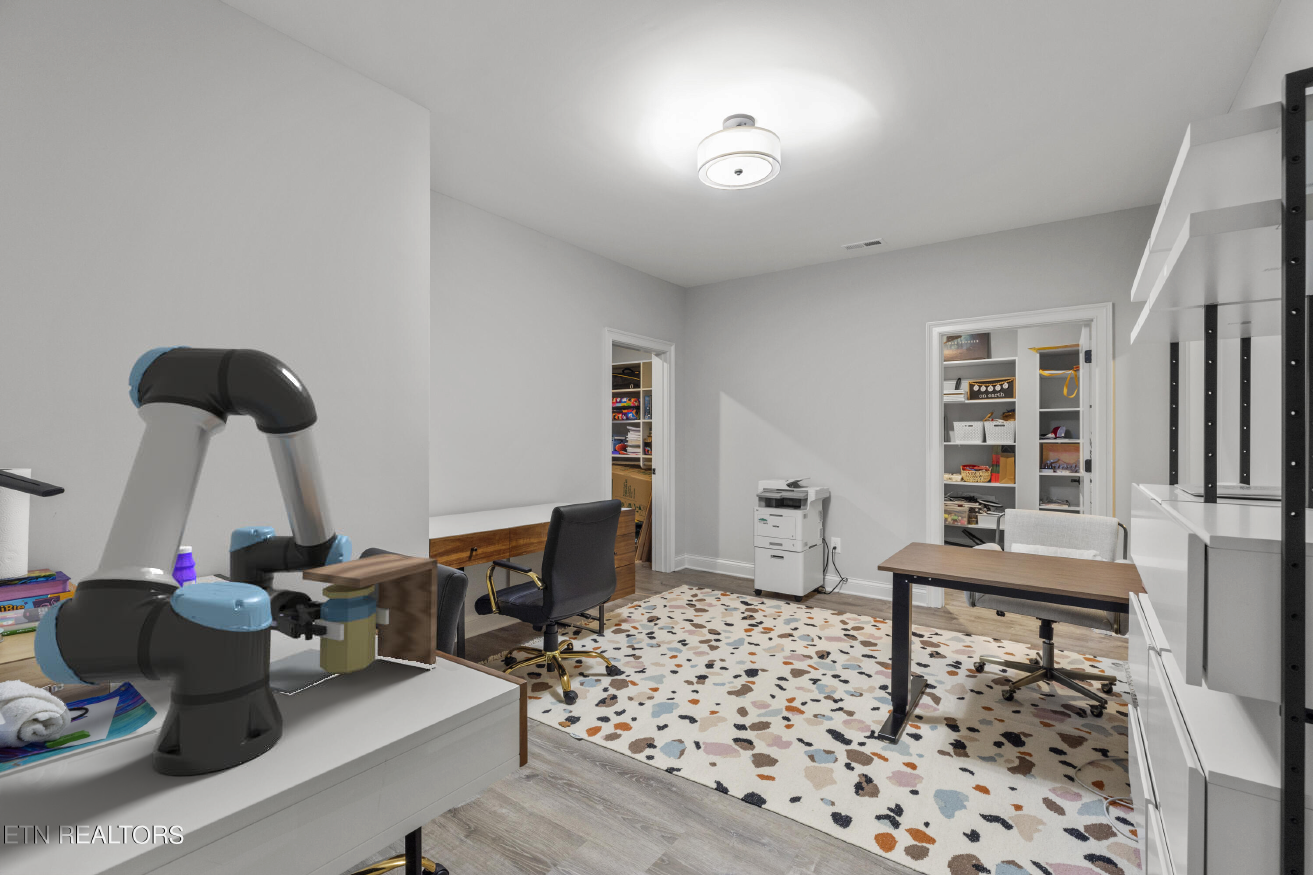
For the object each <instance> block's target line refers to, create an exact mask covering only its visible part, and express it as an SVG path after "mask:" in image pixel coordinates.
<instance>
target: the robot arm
mask: <svg viewBox="0 0 1313 875" xmlns="http://www.w3.org/2000/svg"><path fill="white" fill-rule="evenodd" d="M128 386H129V387H130V390H129V391H128V393H129V398H130V400H131V402H132V404H133V406H134V407H135V408H136V409H137V410H138V411H137V414H138V416H139V418H140V419H141V420H142V421H143V422H144V423H145V427H144V431H143V432H142V433H143V434H142V436H141V440H140V442H139V444H138V445H139V446H138V449H137V452H136V454H135V458H134V460H133V464H132V466H131V469H130V471H129V475H128V478H127V480H126V484H125V487H124V489H123V493H122V496H121V498H120V501H119V504H118V507H117V511H116V513H115V516H114V519H113V522H112V525H111V528H110V532H109V535H108V536H107V540H106V543H105V547H104V549H103V551H102V555H101V557H100V560H99V563H98V566H97V570H95V571H94V572H93V573H90V574H89V575H87V576H85V577H83V578H82V579H80V580H79V581H78V582H77V585H76V588H75V590H74V592H73V597H67V598H65V599H63V600H62V599H61V600H59V601H57V602H55V603H54V604H52V605H51V606H50V609H48V610H46V611H45V612H44V613H43V615H42V616H41V618H40V619H39V621H38V624H37V626H36V629H35V633H34V634H35V635H34V640H33V652H34V658H35V661H36V664H37V665H39V667H40V672H42V674H43V675H44V676H45V677H46V678H48V679H49V680H50V681H51V682H54V683H56V684H60V685H85V686H93V687H94V686H95V687H96V686H99V685H101V684H117V683H118V684H119V683H121V684H123V683H139V682H153V681H154V682H155V681H157V682H158V681H170V704H169V707H168V709H167V712H166V716H165V717H164V721H163V722H162V725H161V728H160V730H159V732H158V736H157V738H156V740H155V743H154V744H153V745H154V746H153V751H152V753H153V754H152V759H153V760H152V766H153V768H154V769H155V771H157V772H158V773H160V774H164V775H170V776H192V775H200V774H207V773H212V772H215V771H220V770H224V769H227V767H228V768H230V767H229V766H231V767H233V766H232V765H234V766H236V765H235V764H237V765H239V764H238V763H240V762H243V763H245V762H247V761H246V760H248V759H250V760H252V759H254V758H256V757H258V756H260V755H262V754H263V753H262V752H264V751H265V752H267V751H268V750H267V749H268V748H270V747H271V748H273V747H274V746H275V745H276V744H277V743H278V742H279V741H280V740H281V738H282V737H283V729H284V728H283V727H284V726H283V722H284V721H283V716H282V712H281V710H280V708H279V705H278V703H277V700H276V697H275V695H274V692H273V691H272V690H271V687H270V663H271V644H272V643H271V642H272V641H271V637H272V631H277V632H278V633H281V634H283V635H285V636H287V637H289V638H292V639H295V640H298V639H300V638H301V637H302V635H304V640H305V641H311V640H313V637H314V636H315V637H319V638H320V637H324V638H329V639H334V640H339V641H341V640H343V639H344V624H340V623H335V622H330V621H324V620H321V605H322V604H323V603H325V602H326V601H324V602H323V601H321V602H320V601H318V600H313V599H312V598H311V597H310V595H308V594H307V593H305V592H302V591H296V590H289V589H285V588H279V587H274V579H275V574H286V573H287V574H288V573H289V574H291V573H292V574H293V573H303V571H305V570H310V569H315V568H319V567H324V566H329V565H333V564H338V563H343V562H347V561H351V558H352V554H353V553H352V551H353V545H352V541H351V539H350V537H349V536H348V535H343V534H342V535H341V534H336V530H335V525H334V519H333V515H332V509H331V506H330V501H329V495H328V491H327V487H326V486H327V485H326V482H325V477H324V472H323V469H322V468H323V467H322V463H321V459H320V454H319V450H318V444H317V440H316V434H315V430H314V426H315V425H316V424H317V423H318V416H317V415H318V414H317V409H316V406H315V403H314V400H313V397H312V395H311V394H310V392H309V390H308V388H307V387H306V386H305V384H304V382H303V381H302V379H301V378H300V377H299V376H298V375H297V374H296V373H295V371H293V370H292V368H290V367H289V366H288V365H287V364H286V363H284V362H283V361H282V360H280V359H279V358H277V357H275V356H273V355H271V354H269V353H268V352H264V351H261V350H258V349H251V348H220V347H218V348H217V347H216V348H213V347H192V346H187V345H175V346H159V347H156V348H152V349H149V350H147V351H145V352H144V353H143V354H142V355H140V356H139V357H138V358H137V360H136V361H135V362H134V364H133V366H132V367H131V371H130V372H129V377H128ZM230 416H249V417H251V418H253V419H254V421H255V425H256V429H257V431H258V432H260V433H262V434H264V435H265V437H266V440H267V445H268V448H269V453H270V456H271V459H272V463H273V468H274V470H275V474H276V478H277V481H278V485H279V489H280V493H281V497H282V500H283V503H284V504H283V505H284V507H285V512H286V515H287V519H288V523H289V526H290V530H291V534H292V535H276V533H275V532H276V531H275V528H274V527H272V526H269V525H268V526H267V525H266V526H265V525H253V526H244V527H239V528H235V530H233V531H232V532H231V535H230V546H229V550H228V553H229V581H214V582H196V584H191V585H187V586H184V587H181V586H180V585H179V584H178V583H177V582H176V581H175V580H174V578H173V576H172V573H173V570H174V566H175V563H176V559H177V556H178V552H179V549H180V546H182V545H181V544H182V542H183V541H182V540H183V537H184V534H185V530H186V527H187V524H188V521H189V516H190V513H191V510H192V506H193V503H194V500H195V499H194V498H195V496H196V492H197V488H198V486H199V480H200V477H201V474H202V470H203V467H204V463H205V460H206V456H207V452H208V449H209V446H210V443H211V439H212V437H214V436H216V435H218V434H221V433H222V432H224V431H225V430H226V429H225V428H226V426H227V421H228V419H229V417H230ZM378 623H379V624H385V625H386V624H389V609H383V608H378V606H376V624H378ZM279 739H280V740H279ZM278 740H279V741H278ZM277 741H278V742H277ZM276 742H277V743H276ZM275 743H276V744H275ZM274 744H275V745H274ZM273 745H274V746H273ZM272 746H273V747H272ZM271 748H270V749H271ZM266 750H267V751H266ZM265 752H264V753H265ZM261 753H262V754H261ZM259 754H260V755H259ZM257 755H258V756H257ZM255 756H256V757H255ZM253 757H254V758H253ZM251 758H252V759H251ZM244 761H245V762H244ZM248 761H249V760H248ZM240 764H241V763H240Z"/></svg>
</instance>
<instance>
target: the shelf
mask: <svg viewBox="0 0 1313 875" xmlns="http://www.w3.org/2000/svg"><path fill="white" fill-rule="evenodd" d="M438 560H439V559H438V558H437V559H436V558H430V557H429V558H427V557H419V556H409V555H404V554H403V555H402V554H394V553H393V554H391V553H381V554H376V555H372V556H366V557H362V558H357V559H353V560H350V561H347V562H343V563H338V564H333V565H329V566H324V567H319V568H315V569H310V570H305V571H303V572H302V579H301V580H303V581H311V582H320V583H324V584H330V585H332V584H338V585H345V586H352V587H359V588H360V587H364V586H368V585H372V584H375V585H376V584H378V585H377V586H378V587H377V588H378V595H377V596H378V597H377V608H383V609H389V624H386V625H385V624H379V623H377V649H376V650H377V652H376V653H377V655H378V656H383V657H391V658H395V659H402V660H408V661H416V662H420V663H424V664H429V665H432V664H435V663H436V664H437V627H438V626H437V625H438V623H437V621H438V619H437V618H438V617H437V616H438V614H437V613H438Z"/></svg>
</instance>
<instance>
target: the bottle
mask: <svg viewBox="0 0 1313 875" xmlns="http://www.w3.org/2000/svg"><path fill="white" fill-rule="evenodd" d="M195 566H196V561H195V560H194V558H193V547H192V546H190V545H186V546H185V545H184V546H183V545H180V549H179V552H178V556H177V559H176V563H175V566H174V570H173V573H172V576H173V578H174V580H175V581H176V582H177V583H178V584H179V585H180V586H181V587H184V586H187V585H191V584H197V577H198V576H197V571H196V569H195Z"/></svg>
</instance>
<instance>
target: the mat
mask: <svg viewBox="0 0 1313 875" xmlns="http://www.w3.org/2000/svg"><path fill="white" fill-rule="evenodd" d="M332 675H335V674H331V673H328V672H326V671H325V670H324V669H322V668H321V667H320V649H315V648H308V649H305V650H303V651H299V652H297V653H294V654H290V655H288V656H285V657H282V658H280V659H276V660H274V661H270V687H271V690H272V692H273V691H276V692H275V693H277V692H284V693H289V694H291V693H293V692H296V691H298V690H301V689H304V688H306V687H308V686H310V685H313V684H314V683H317V682H319V681H321V680H323V679H325V678H328V677H330V676H332Z"/></svg>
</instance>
